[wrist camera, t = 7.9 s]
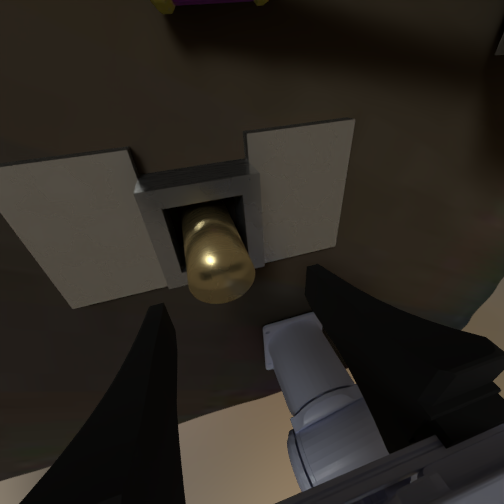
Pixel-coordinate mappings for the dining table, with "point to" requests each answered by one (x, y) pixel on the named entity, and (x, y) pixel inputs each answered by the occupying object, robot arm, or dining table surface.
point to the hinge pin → (214, 253)
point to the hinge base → (168, 196)
